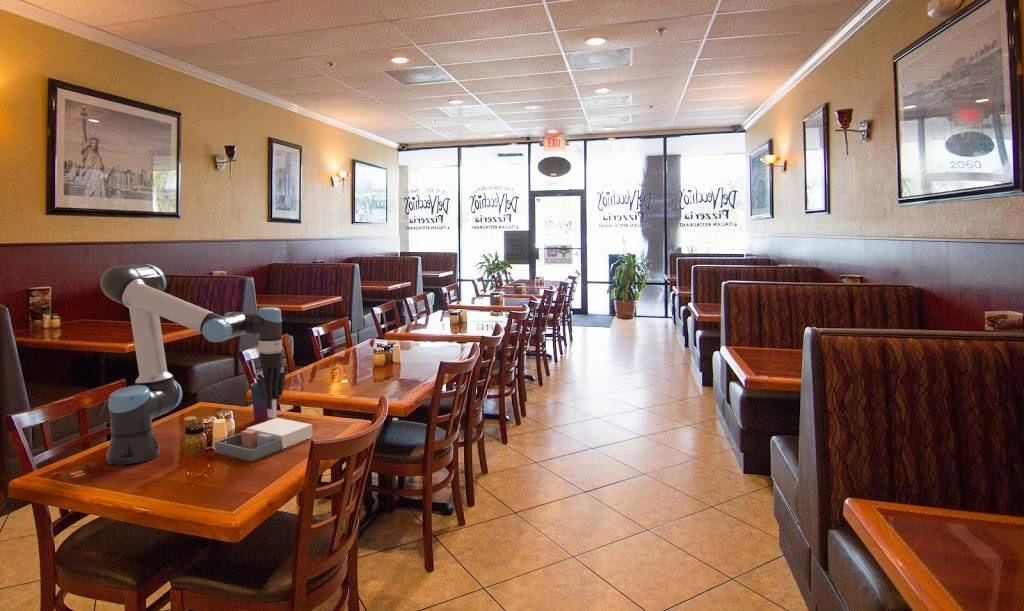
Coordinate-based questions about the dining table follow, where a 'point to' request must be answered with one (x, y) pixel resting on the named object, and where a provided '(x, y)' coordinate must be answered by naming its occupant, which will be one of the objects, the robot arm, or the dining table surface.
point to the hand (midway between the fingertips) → (272, 416)
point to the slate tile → (264, 439)
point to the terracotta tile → (249, 438)
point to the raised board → (285, 431)
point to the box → (245, 448)
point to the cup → (258, 404)
